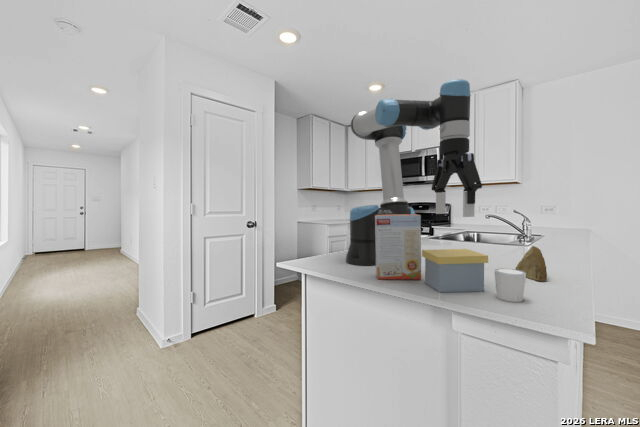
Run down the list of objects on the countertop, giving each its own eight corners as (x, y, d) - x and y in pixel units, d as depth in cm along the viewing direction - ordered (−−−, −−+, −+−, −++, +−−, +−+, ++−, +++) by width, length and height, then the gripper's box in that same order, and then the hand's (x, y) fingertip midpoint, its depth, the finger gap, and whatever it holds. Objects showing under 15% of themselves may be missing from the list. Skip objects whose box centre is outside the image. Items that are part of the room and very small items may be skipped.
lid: (422, 259, 89) (422, 249, 89) (466, 258, 90) (466, 248, 89) (438, 267, 78) (438, 256, 78) (488, 266, 79) (488, 255, 78)
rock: (558, 276, 84) (554, 265, 92) (537, 253, 86) (535, 243, 94) (522, 292, 90) (521, 280, 98) (503, 270, 92) (503, 260, 100)
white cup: (528, 297, 74) (529, 271, 73) (522, 305, 69) (523, 276, 69) (498, 291, 79) (498, 266, 78) (490, 298, 74) (490, 271, 73)
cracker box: (417, 275, 97) (417, 213, 96) (421, 280, 91) (421, 214, 90) (375, 275, 98) (374, 214, 97) (376, 279, 92) (376, 215, 91)
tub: (425, 282, 89) (425, 256, 88) (464, 281, 89) (465, 255, 89) (439, 292, 79) (439, 263, 79) (483, 290, 80) (484, 262, 79)
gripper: (420, 147, 92) (420, 213, 93) (470, 128, 67) (468, 218, 68) (442, 147, 93) (442, 212, 94) (499, 128, 68) (497, 217, 69)
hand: (453, 215), depth 81 cm, fingers open, 13 cm apart
